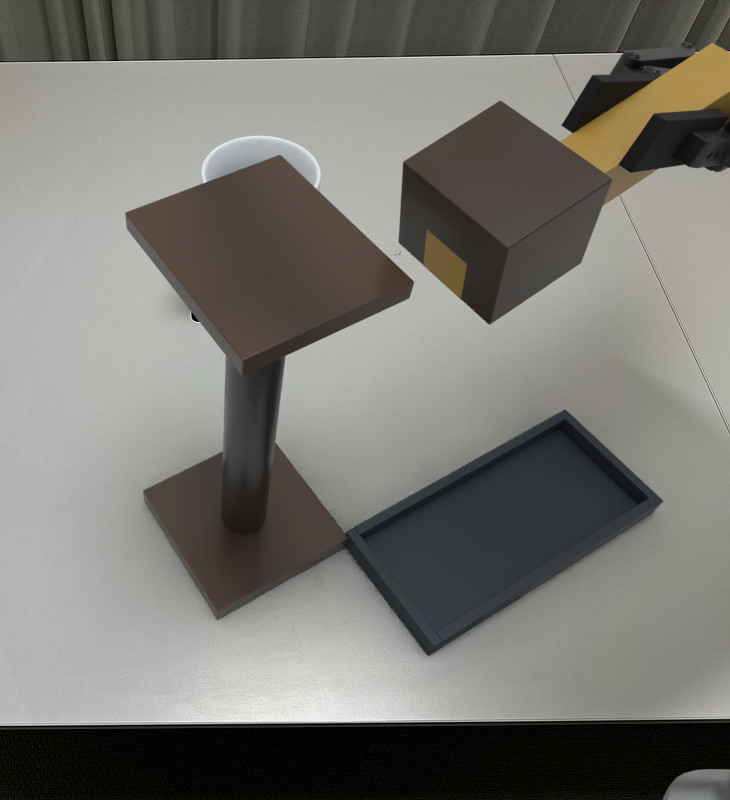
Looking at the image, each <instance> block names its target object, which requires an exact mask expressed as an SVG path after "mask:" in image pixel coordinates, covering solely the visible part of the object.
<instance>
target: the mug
mask: <svg viewBox="0 0 730 800" xmlns="http://www.w3.org/2000/svg"><path fill="white" fill-rule="evenodd" d="M278 155H281V156H282V157H283V158H285V159H286V160H287V161H288V162H289V163H290V164H291V165H292V166H293V167H294V168H295V169H296V170H297V171H298V172H299V173H300V174H301V175H302V176H303V177H305V178H306V179H307V180H308V181H309V182H310V183H311V184H312V185H313V186H314V187H315V188H316V189H317V190H318V191H319V192H321V191H320V190H321V181H322V171H321V167H320V165H319V163H318V161H317V159H316V158H315V156H314V155H313V154H311V152H310V151H308V150H307V149H306V148H304V147H303V146H301V145H300V144H298V143H295V142H294V141H291V140H289V139H285V138H283V137H282V138H281V137H277V136H271V135H247V136H242V137H237V138H233V139H230V140H228V141H225V142H223V143H221V144H220V145H218V146H216V147H215V148H214V149H212V150H211V151H210V152H209V153H208V154H207V155H206V157H205V158H204V160H203V163H202V166H201V171H200V184H203V183H205V182H208V181H211V180H213V179H216V178H219V177H221V176H224V175H227V174H229V173H232V172H235V171H237V170H240V169H243V168H245V167H248V166H251V165H254V164H256V163H259V162H262V161H264V160H267V159H270V158H272V157H275V156H278Z"/></svg>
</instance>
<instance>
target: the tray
mask: <svg viewBox="0 0 730 800" xmlns="http://www.w3.org/2000/svg"><path fill="white" fill-rule="evenodd" d="M663 503H664V500H663V499H662V498H661V497H660V496H659V495H658V494H657V493H656V492H655V491H653V489H652V488H650V487H649V486H648V485H647V484H646V483H645V482H644V481H643V480H642V479H641V478H639V476H638V475H637V474H636V473H634V472H633V470H631V468H629V467H628V466H627V465H626V464H625V463H624V462H623V461H622V460H621V459H619V458H618V457H617V455H616V454H614V453H613V452H612V450H610V449H609V448H608V447H606V445H604V443H602V442H601V441H600V440H599V439H598V438H597V437H596V436H595V435H594V434H593V433H592V432H591V431H589V430H588V428H586V426H584V425H583V424H582V423H581V422H580V421H579V420H578V419H577V418H576V417H575V416H573V415H572V414H571V413H570V412H569V411H568V410H567V409H563V410H561V411H560V412H558V413H555V414H554V415H552V416H550V417H549V418H546V419H545V420H543V421H542V422H539V423H537V424H536V425H534V426H532V427H530V428H529V429H527V430H525V431H523V432H522V433H520V434H518V435H516V436H514V437H513V438H511V439H509V440H507V441H506V442H503V443H502V444H500V445H499V446H496V447H495V448H493V449H491V450H489V451H488V452H485V453H484V454H482V455H480V456H478V457H476V458H474V459H473V460H471V461H470V462H468V463H466V464H464V465H463V466H461V467H459V468H457V469H455V470H453V471H451V472H450V473H448V474H446V475H444V476H442V477H440V478H439V479H437V480H436V481H435V480H434V481H433V482H431V483H430V484H428V485H426V486H425V487H423V488H421V489H419V490H417V491H416V492H414V493H412V494H410V495H408V496H407V497H404V498H403V499H401V500H399V501H398V502H396V503H394V504H392V505H390V506H389V507H387V508H385V509H384V510H382V511H379V512H377V513H376V514H374V515H372V516H371V517H369V518H367V519H365V520H364V521H362V522H360V523H358V524H356V525H355V526H353V527H351V528H349V529H348V530H346V531H345V532H344V533H345V535H346V536H347V537H348V542H347V545H346V548H345V549H346V550H347V551H348V552H349V554H350V555H351V556H352V557H353V559H354V560H355V561H356V563H357V564H358V565H359V567H360V568H361V570H362V571H363V572H364V573H365V575H366V576H367V577H368V579H369V580H370V581H371V583H372V584H373V585H374V586H375V588H376V589H377V590H378V592H379V593H380V595H381V596H382V597H383V598H384V600H385V602H386V603H387V604H388V605H389V606H390V608H391V609H392V610H393V612H394V613H395V614H396V616H397V617H398V619H399V620H400V621H401V622H402V624H403V625H404V626H405V628H406V629H407V630H408V632H409V633H410V634H411V636H412V637H413V638H414V639H415V641H416V642H417V644H419V646H420V648H421V649H422V650H423V651H424V653H425V654H426V655H427V656H428V657H429V656H431V655H432V654H434V653H435V652H437V651H439V650H441V649H442V648H443V647H445V646H447V645H448V644H450V643H451V642H453V641H454V640H456V639H458V638H459V637H461V636H463V635H464V634H465V633H467V632H469V631H470V630H472V629H473V628H475V627H476V626H479V624H481V623H483V622H484V621H486V620H488V619H489V618H490V617H492V616H494V615H495V614H497V613H498V612H500V611H502V610H503V609H505V608H506V607H508V606H510V605H511V604H512V603H514V602H516V601H517V600H519V599H520V598H522V597H523V596H525V595H527V594H528V593H530V592H531V591H533V590H534V589H536V588H538V587H539V586H540V585H542V584H544V583H546V582H547V581H549V580H550V579H552V578H553V577H555V576H556V575H558V574H559V573H561V572H563V571H564V570H566V569H568V568H569V567H571V566H572V565H574V564H575V563H577V562H578V561H581V560H582V559H583V558H584V557H586V556H588V555H589V554H591V553H592V552H594V551H596V550H597V549H599V548H600V547H602V546H604V545H605V544H606V543H608V542H610V541H611V540H613V539H614V538H616V537H618V536H619V535H621V534H623V533H624V532H625V531H627V530H628V529H630V528H631V527H633V526H635V525H636V524H637V523H639V522H641V521H643V520H644V519H646V518H647V517H649V516H651V515H652V514H653V513H654V512H655V511H656V510H657V509H658V508H659V507H660V506H661V504H663Z"/></svg>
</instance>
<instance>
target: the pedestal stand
mask: <svg viewBox="0 0 730 800" xmlns="http://www.w3.org/2000/svg"><path fill="white" fill-rule="evenodd" d="M124 215H125V216H124V217H125V225H126V230H127V232H128V233H129V234H130V235H131V237H132V238H133V239H134V241H135V242H136V243H137V245H139V247H140V248H141V249H142V251H143V252H144V253H145V255H146V256H147V257H148V258H149V259H150V261H151V262H152V263H153V264H154V266H155V267H156V268H157V270H158V271H159V272H160V273H161V275H162V276H163V277H164V278H165V280H166V281H167V282H168V284H169V285H170V286H171V288H172V289H173V290H174V291H175V292H176V294H177V295H178V296H179V298H180V299H181V300H182V302H183V303H184V304H185V305H186V306H187V308H188V309H189V310H190V312H191V313H192V314H193V315H194V317H195V318H196V319H197V321H198V322H199V323H200V324H201V326H202V327H203V328H204V329H205V331H206V332H207V334H208V335H209V336H210V337H211V338H212V340H213V341H214V342H215V344H216V345H217V346H218V347H219V348H220V350H221V351H222V353H223V354H224V355H225V364H224V365H225V366H224V368H225V369H224V403H223V408H224V409H223V433H222V434H223V436H222V451H220V452H218V453H216V454H214V455H213V456H210V457H208V458H206V459H204V460H201V461H200V462H198V463H196V464H194V465H192V466H190V467H188V468H186V469H184V470H182V471H179V472H178V473H176V474H174V475H172V476H170V477H167V478H165V479H163V480H162V481H160V482H157V483H155V484H153V485H151V486H149V487H147V488H145V489H143V490H142V494H143V500H144V502H145V504H146V505H147V507H148V508H149V511H150V512H151V514H152V516H153V518H155V520H156V521H157V524H158V525H159V527H160V529H161V530H162V532H163V533H164V535H165V537H166V538H167V540H168V542H169V543H170V545H171V547H172V548H173V549H174V552H175V553H176V555H177V556H178V558H179V560H180V561H181V563H182V564H183V566H184V568H185V569H186V571H187V573H188V574H189V576H190V578H191V579H192V581H193V582H194V584H195V586H196V588H197V589H198V590H199V592H200V594H201V596H202V597H203V599H204V600H205V602H206V604H207V605H208V607H209V608H210V610H211V612H212V613H213V615H214V617H215V618H216V620H220V619H222V618H224V617H225V616H227V615H229V614H230V613H232V612H234V611H236V610H237V609H239V608H241V607H243V606H244V605H247V604H248V603H251V602H252V601H254V600H255V599H257V598H259V597H261V596H263V595H264V594H266V593H269V591H271V590H274V589H275V588H277V587H278V586H280V585H282V584H284V583H286V582H287V581H289V580H291V579H292V578H294V577H296V576H298V575H300V574H302V573H303V572H305V571H307V570H308V569H310V568H312V567H314V566H316V565H317V564H319V563H321V562H322V561H324V560H327V559H328V558H330V557H331V556H333V555H335V554H337V553H339V552H340V551H343V550H344V549H347V548H346V545H347V542H348V537H347V536H346V535H345V533H346V532H345V531H344V530H343V528H342V527H341V526H340V524H339V523H338V522H337V521H336V519H335V518H334V517H333V515H332V514H331V513H330V512H329V510H328V509H327V508H326V506H325V505H324V503H322V501H321V499H320V498H319V497H318V496H317V494H316V493H315V492H314V491H313V489H312V488H311V487H310V486H309V484H308V482H306V480H305V479H304V478H303V476H302V475H301V474H300V472H299V471H298V470H297V469H296V467H295V466H294V465H293V463H292V462H291V461H290V459H289V458H288V457H287V456H286V454H285V453H284V452H283V451H282V449H281V447H279V445H278V443H277V442H276V439H277V431H278V421H279V414H280V406H281V405H280V404H281V399H282V398H281V397H282V391H283V390H282V389H283V383H284V382H283V381H284V373H285V365H286V356H289V355H291V354H293V353H295V352H297V351H299V350H302V349H304V348H306V347H308V346H311V345H313V344H314V343H317V342H320V341H321V340H323V339H325V338H327V337H329V336H332V335H334V334H336V333H338V332H340V331H342V330H345V329H347V328H349V327H351V326H353V325H355V324H357V323H360V322H362V321H364V320H366V319H368V318H371V317H373V316H375V315H376V314H379V313H381V312H383V311H385V310H387V309H390V308H392V307H394V306H397V305H398V304H401V303H402V302H405V301H407V300H409V299H410V298H411V295H412V291H413V289H414V285H415V281H414V279H412V278H411V276H409V275H408V274H407V273H406V272H405V271H404V270H403V269H402V268H400V267H399V265H397V263H395V262H394V261H393V260H392V259H391V258H390V257H389V256H388V255H387V254H386V253H385V252H384V251H383V250H382V249H380V247H378V245H376V244H375V243H374V242H373V241H372V240H371V239H370V238H369V237H368V236H367V235H366V234H365V233H364V232H363V231H361V229H359V228H358V227H357V226H356V224H354V223H353V222H352V221H351V220H350V219H349V218H348V217H347V216H346V215H345V214H343V212H342V211H341V210H340V209H339V208H337V206H336V205H334V204H333V202H331V201H330V200H329V199H328V198H326V196H324V195H323V193H322V192H321V191H318V190H317V189H316V188H315V187H314V186H313V185H312V184H311V183H310V182H309V181H308V180H307V179H306V178H305V177H303V176H302V175H301V174H300V173H299V172H298V171H297V170H296V169H295V168H294V167H293V166H292V165H291V164H290V163H289V162H288V161H287V160H286V159H285V158H283V157H282V156H281V155H278V156H275V157H272V158H270V159H267V160H264V161H262V162H259V163H256V164H254V165H251V166H248V167H245V168H243V169H240V170H237V171H235V172H232V173H229V174H227V175H224V176H221V177H219V178H216V179H213V180H211V181H208V182H205V183H203V184H201V183H200V184H198V185H196V186H192V187H190V188H186V189H184V190H181V191H178V192H175V193H174V194H171V195H168V196H165V197H162V198H160V199H158V200H154V201H152V202H150V203H146V204H144V205H141V206H139V207H136V208H134V209H131V210H128V211H125V212H124Z"/></svg>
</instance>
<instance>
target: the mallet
mask: <svg viewBox="0 0 730 800" xmlns="http://www.w3.org/2000/svg"><path fill="white" fill-rule="evenodd" d="M695 53H696V54H694V55H693V56H691V57H690V58H688V59H687V60H685V61H683V62H682V63H680V64H679V65H677V66H676V67H674V68H673V69H671V70H670V71H668V72H666V73H665V74H663V75H662V76H660V77H659V78H657V79H656V80H654V81H653V82H651V83H650V84H648V85H647V86H645V87H643V88H642V89H640V90H639V91H637V92H636V93H634V94H633V95H631V96H630V97H628V98H626V99H625V100H623V101H622V102H620V103H619V104H617V105H616V106H614V107H613V108H611V109H609V110H608V111H606V112H605V113H603V114H602V115H600V116H599V117H597V118H596V119H594V120H592V121H591V122H589V123H588V124H586V125H585V126H583V127H582V128H580V129H579V130H577V131H576V132H574V133H571V134H569V135H567V136H566V137H564V138H563V139H562V140H558V139H557V138H555V137H554V136H553V135H551V134H549V133H548V132H547V131H545V130H544V129H542V127H540V126H538V125H537V124H535V123H534V122H532V121H531V120H530V119H528V118H527V117H526V116H524V115H522V114H521V113H520V112H518V111H517V110H515V109H514V108H513V107H511V106H510V105H508V104H506V103H505V102H504V101H503V100H498V101H497V102H495V103H493V104H492V105H490V106H489V107H487V108H486V109H484V110H483V111H480V113H478V114H476V115H475V116H473V117H471V118H470V119H468V120H467V121H465V122H463V123H462V124H461V125H459V126H457V127H455V128H454V129H453V130H451V131H449V132H448V133H446V134H445V135H443V136H441V137H440V138H438V139H437V140H435V141H434V142H432V143H430V144H429V145H427V146H425V147H424V148H423V149H420V150H419V151H418V152H416V153H415V154H413V155H411V156H410V157H408V158H406V159H404V161H403V162H402V173H401V191H400V206H399V207H400V209H399V224H398V225H399V226H398V229H399V230H398V244H399V245H400V246H401V247H402V248H404V249H405V250H406V251H407V252H408V253H409V254H410V255H411V256H412V257H414V259H415V260H417V261H418V262H419V263H420V264H421V265H422V266H423V267H424V268H425V269H426V270H427V271H429V272H430V274H432V275H433V276H434V277H435V278H436V279H438V280H439V281H440V282H441V284H443V285H444V286H445V287H446V288H447V289H449V290H450V291H451V292H452V293H453V294H454V295H455V296H456V297H457V298H458V299H459V300H461V301H462V302H463V303H464V304H465V305H466V306H468V307H469V308H470V309H471V310H472V311H473V312H474V313H475V314H476V315H477V316H479V318H480V319H482V320H483V321H484V322H485V323H486V324H487V325H492V324H493V323H495V322H496V321H498V320H499V319H501V318H502V317H503V316H505V315H506V314H508V313H510V312H511V311H512V310H514V309H516V308H517V307H518V306H520V305H522V304H523V303H524V302H526V301H527V300H529V299H530V298H532V297H533V296H535V295H536V294H538V293H540V292H541V291H542V290H544V289H545V288H546V287H548V286H550V285H551V284H553V283H554V282H555V281H557V280H559V279H560V278H561V277H563V276H564V275H566V274H567V273H569V272H570V271H572V270H573V269H574V268H577V266H580V265H581V264H582V262H583V259H584V257H585V254H586V251H587V249H588V246H589V243H590V241H591V238H592V235H593V233H594V230H595V227H596V226H597V222H598V220H599V217H600V214H601V211H602V208H603V207H604V206H606V205H607V204H608V203H610V202H611V201H612V200H614V199H616V198H617V197H619V196H620V195H622V194H623V193H624V192H627V191H628V190H629V189H631V188H632V187H634V186H635V185H636V184H639V183H640V182H641V181H643V180H644V179H646V178H647V177H649V176H650V175H652V174H653V173H655V172H656V171H658V170H659V169H653V170H646V171H640V172H633V173H630V172H629V171H627V170H626V169H624V168H623V167H621V166H620V165H618V164H619V163H620V161H621V160H622V159H623V157H624V156H625V154H626V153H627V151H628V150H629V149H630V147H631V146H632V144H633V143H634V141H635V140H636V138H637V137H638V136H639V134H640V133H641V131H642V130H643V128H644V127H645V126H646V124H647V123H648V121H649V120H650V118H651V117H652V115H653V114H654V113H666V112H680V111H694V110H708V109H718V110H720V111H722V112H724V113H725V114H727V115H729V116H730V51H728V50H727V49H724V48H723V47H721V46H719V45H717V44H715V43H714V42H711V43H709V44H708V45H707V46H705V47H703V48H701V50H699V51H697V52H695ZM728 122H730V117H729V118H728V119H727V121H726V122H725V123H724V125H725V124H727V123H728ZM724 125H723V126H724Z"/></svg>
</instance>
